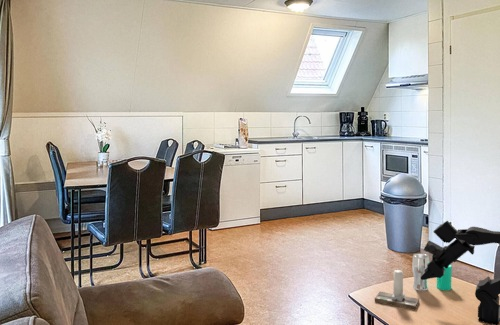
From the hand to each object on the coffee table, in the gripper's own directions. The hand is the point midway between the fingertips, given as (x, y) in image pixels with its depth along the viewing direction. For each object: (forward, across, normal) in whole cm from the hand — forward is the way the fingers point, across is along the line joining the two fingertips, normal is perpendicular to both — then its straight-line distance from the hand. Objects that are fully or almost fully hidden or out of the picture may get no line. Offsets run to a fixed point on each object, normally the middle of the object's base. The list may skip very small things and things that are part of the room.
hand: (423, 275), depth 169 cm
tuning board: (+16, 0, +2) cm, 17 cm away
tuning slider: (+15, 0, +1) cm, 15 cm away
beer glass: (+13, -19, +6) cm, 24 cm away
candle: (+7, -25, +13) cm, 29 cm away
